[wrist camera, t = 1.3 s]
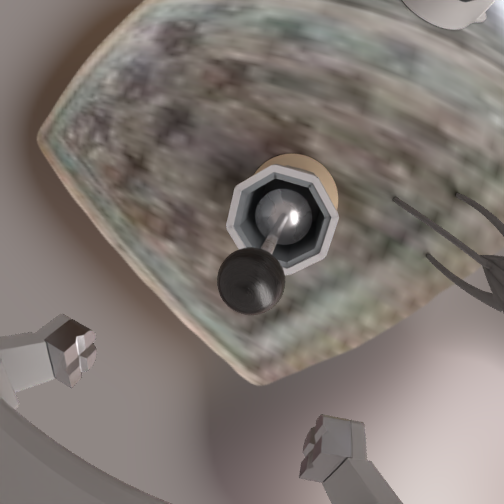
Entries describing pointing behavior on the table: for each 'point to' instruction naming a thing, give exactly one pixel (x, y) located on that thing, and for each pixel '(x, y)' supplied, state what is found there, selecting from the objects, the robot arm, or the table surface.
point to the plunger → (264, 254)
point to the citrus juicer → (495, 267)
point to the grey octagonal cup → (307, 184)
